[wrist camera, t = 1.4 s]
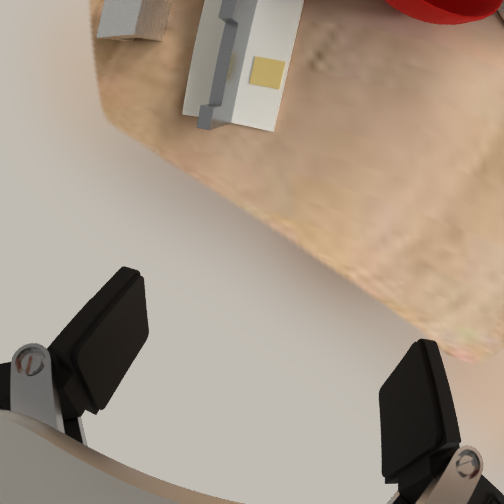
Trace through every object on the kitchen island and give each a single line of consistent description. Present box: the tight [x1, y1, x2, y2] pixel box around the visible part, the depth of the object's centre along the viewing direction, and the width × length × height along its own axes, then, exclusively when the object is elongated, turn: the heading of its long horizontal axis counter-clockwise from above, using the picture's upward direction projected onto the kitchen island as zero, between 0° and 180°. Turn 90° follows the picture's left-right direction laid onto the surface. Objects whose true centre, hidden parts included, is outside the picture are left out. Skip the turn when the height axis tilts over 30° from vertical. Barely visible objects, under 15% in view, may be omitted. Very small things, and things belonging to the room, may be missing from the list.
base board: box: [182, 0, 304, 132], centre depth 24 cm, size 18×10×1 cm, turn 169°
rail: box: [197, 0, 258, 130], centre depth 21 cm, size 18×1×6 cm, turn 169°
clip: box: [96, 0, 171, 42], centre depth 22 cm, size 5×5×6 cm
